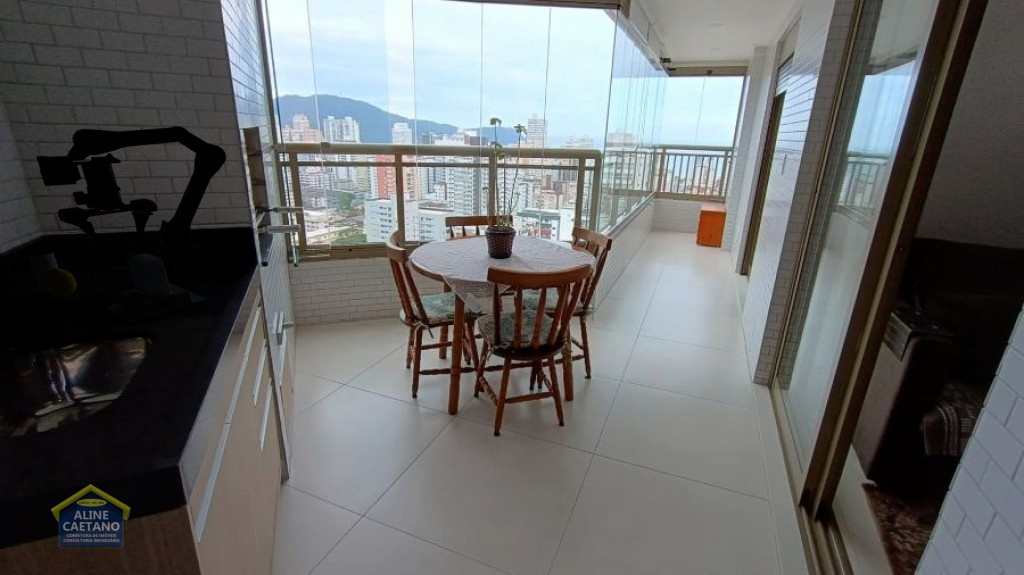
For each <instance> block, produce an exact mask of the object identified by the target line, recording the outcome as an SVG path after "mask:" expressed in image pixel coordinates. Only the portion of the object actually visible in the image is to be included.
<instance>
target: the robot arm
mask: <svg viewBox="0 0 1024 575" xmlns="http://www.w3.org/2000/svg"><path fill="white" fill-rule="evenodd" d="M72 143H73V145H72V146H71V148H70V149H69V150H68V151H67V154H66V155H57V156H56V155H55V156H52V155H51V156H49V155H36V157H35V158H36V160H37V163H38V167H39V173H40V176H41V179H42V181H43V185H44V187H54V186H55V187H56V186H71V185H73V186H74V185H77V184H78V182H79V181H80V180H82V176H81V173H80V169H79V167H78V166H80V167H81V171H82V174H83V177H84V180H85V183H86V192H87V193H85V192H84V191H83V190H81V191H80V190H79V191H73V192H72V196H73V200H74V202H75V204H76V206H75V207H74V206H72V207H66V208H65V207H64V208H59V209H58V210H57V216H58V218H59V221H60V222H63V223H65V224H67V225H68V224H69V225H72V226H75V227H78V228H80V230H82V231H83V232H84V234H86V236H87V237H88V238H89V239H90V241H91V242H92V244H93V245H94V246H95V247H96V248H100V247H101V246H100V241H99V239H98V236H97V233H96V231H95V228H94V225H93V223H92V222H91V221H89V220H88V219H89V218H90V217H97V216H105V215H113V214H120V213H126V212H127V213H128V212H130V213H131V215H132V217H133V220H134V225H135V231H136V234H137V235H136V236H137V238H138V239H139V240H143V238H144V234H145V229H146V226H147V223H148V221H149V218H150V216H154V213H153V212H159V209H158V205H157V203H156V202H155V201H154V200H152V199H148V198H137V199H130V201H129V203H125V202H123V200H122V195H121V191H122V190H121V187H120V186H119V185H118V182H117V178H116V175H115V172H114V168H113V165H114V164H120V163H122V160H120V159H119V158H116V156H114V155H113V154H112V153H111V152H114V151H117V150H120V149H125V148H130V147H141V146H150V145H152V146H153V145H160V144H171V143H179V144H181V145H182V146H184V147H186V148H187V149H188V150H190V151H192V152H193V153H194V154H195V155H194V161H193V162H194V165H193V172H192V175H191V176H190V179H189V181H188V184H187V185H186V188H185V190H184V191H183V192H184V193H183V195H182V197H181V200H180V202H179V203H178V206H177V209H176V210H175V212H174V215H173V216H172V217H171V218H170V220H169V221H167V220H164V219H161V220H162V221H161V224H160V228H159V229H158V230H157V231H156V234H157V235H158V237H157V238H158V241H159V242H158V243H160V245H161V246H162V247H163V248H164V249H165V250H166V251H167V252H169V253H173V254H172V255H170V259H171V261H170V267H171V269H172V270H171V271H172V275H173V276H175V277H177V278H180V279H182V280H185V279H186V280H187V279H189V278H193V277H197V276H202V275H205V274H207V273H208V271H207V270H204V264H203V261H202V256H201V252H200V250H201V249H200V248H199V247H198V246H197V245H196V244H194V243H193V242H192V241H190V239H191V229H192V228H191V227H192V222H193V220H194V217H195V215H196V213H197V211H198V209H199V207H200V204H201V202H202V199H203V197H204V195H205V193H206V191H207V188H208V185H209V184H210V181H211V180H212V178H213V177H214V176H215V175H216V174H217V173H218V172H219V170H221V168H222V167H223V165H224V163H225V162H226V160H227V154H226V152H225V150H224V149H223V147H221V146H220V145H216V144H213V143H209V142H206V141H205V140H203V139H201V137H198V136H197V135H195V134H193V133H192V132H191V131H189V130H188V129H187V128H185V127H183V126H179V125H174V126H170V127H169V126H168V127H158V128H144V129H142V128H141V129H132V130H120V131H119V130H107V129H95V128H81V129H77V130H76V131H75V132H74V133H73V134H72ZM103 154H106V155H105V156H99V155H103ZM90 156H91V157H90ZM88 157H90V160H85V159H87V158H88ZM112 164H113V165H112ZM84 205H86V207H87V209H84V208H82V207H79V206H84Z"/></svg>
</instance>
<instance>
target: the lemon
mask: <svg viewBox="0 0 1024 575" xmlns="http://www.w3.org/2000/svg"><path fill="white" fill-rule="evenodd" d="M44 283H45V287H46V289H47V290H48V292H49V293H51V294H50V295H52V296H55V297H59V298H62V299H67V298H69V297H70V295H72V294H74V292H75V291H76V290H77V280H76V279H75V277H74V276H73V274H72V273H71V272H69V271H68V270H65V269H62V268H59V269H58V268H54V269H53V270H51V271H49V272H48V273H47V274H46V275H45V278H44Z"/></svg>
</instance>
